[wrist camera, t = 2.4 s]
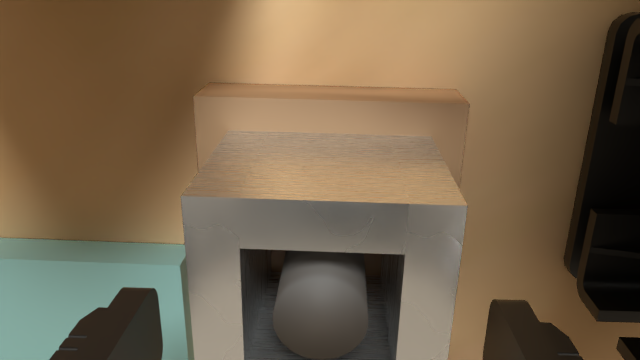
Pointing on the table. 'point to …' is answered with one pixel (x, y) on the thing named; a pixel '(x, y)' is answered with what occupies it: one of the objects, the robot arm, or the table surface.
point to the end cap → (611, 190)
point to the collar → (323, 238)
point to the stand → (341, 118)
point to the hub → (85, 291)
